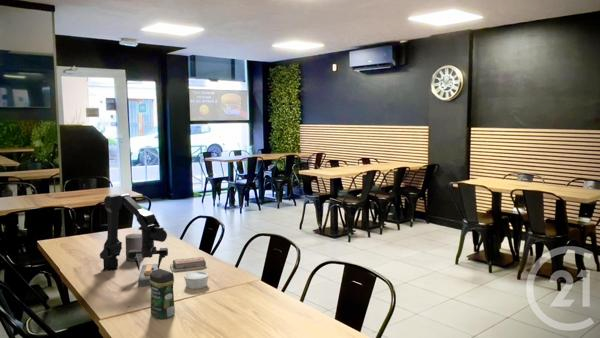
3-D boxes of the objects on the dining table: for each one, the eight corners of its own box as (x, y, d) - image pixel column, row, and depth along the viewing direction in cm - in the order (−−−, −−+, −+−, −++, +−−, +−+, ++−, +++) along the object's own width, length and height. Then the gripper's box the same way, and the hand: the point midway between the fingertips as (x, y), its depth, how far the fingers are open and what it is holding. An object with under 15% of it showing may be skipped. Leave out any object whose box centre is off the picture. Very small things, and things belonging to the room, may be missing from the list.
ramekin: (212, 283, 225) (212, 272, 224) (200, 291, 214) (200, 280, 214) (192, 280, 229) (192, 270, 228) (179, 288, 218) (179, 277, 218)
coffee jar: (147, 315, 188) (146, 270, 186) (164, 308, 194) (163, 265, 192) (161, 321, 182) (160, 275, 180) (178, 315, 188) (177, 270, 186)
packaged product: (203, 255, 256) (206, 260, 247) (203, 263, 257) (206, 268, 248) (169, 258, 250) (171, 263, 241) (169, 267, 250) (172, 272, 241)
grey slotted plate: (155, 285, 222) (155, 279, 222) (138, 286, 220) (138, 280, 220) (158, 269, 245) (158, 263, 245) (142, 270, 243) (142, 264, 243)
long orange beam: (145, 281, 227) (145, 271, 227) (147, 274, 237) (146, 264, 237) (150, 280, 228) (150, 270, 227) (152, 274, 238) (152, 264, 237)
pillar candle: (122, 260, 260) (121, 234, 258) (134, 255, 269) (133, 230, 267) (135, 263, 256) (135, 236, 254) (147, 258, 265) (147, 232, 263)
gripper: (125, 244, 221) (127, 276, 222) (166, 242, 225) (167, 273, 227) (128, 238, 231) (129, 268, 233) (167, 236, 236) (168, 266, 237)
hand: (148, 269), depth 232 cm, fingers open, 9 cm apart
